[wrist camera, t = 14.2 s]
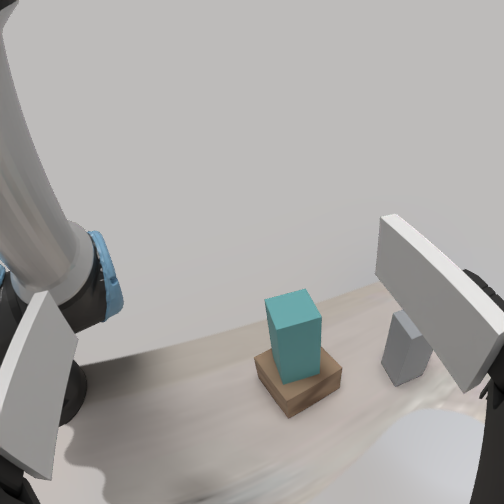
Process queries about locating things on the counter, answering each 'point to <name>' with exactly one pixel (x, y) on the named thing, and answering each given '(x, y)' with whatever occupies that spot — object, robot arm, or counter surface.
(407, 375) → the grey pillar
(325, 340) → the counter surface
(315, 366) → the teal pillar
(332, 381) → the walnut block
